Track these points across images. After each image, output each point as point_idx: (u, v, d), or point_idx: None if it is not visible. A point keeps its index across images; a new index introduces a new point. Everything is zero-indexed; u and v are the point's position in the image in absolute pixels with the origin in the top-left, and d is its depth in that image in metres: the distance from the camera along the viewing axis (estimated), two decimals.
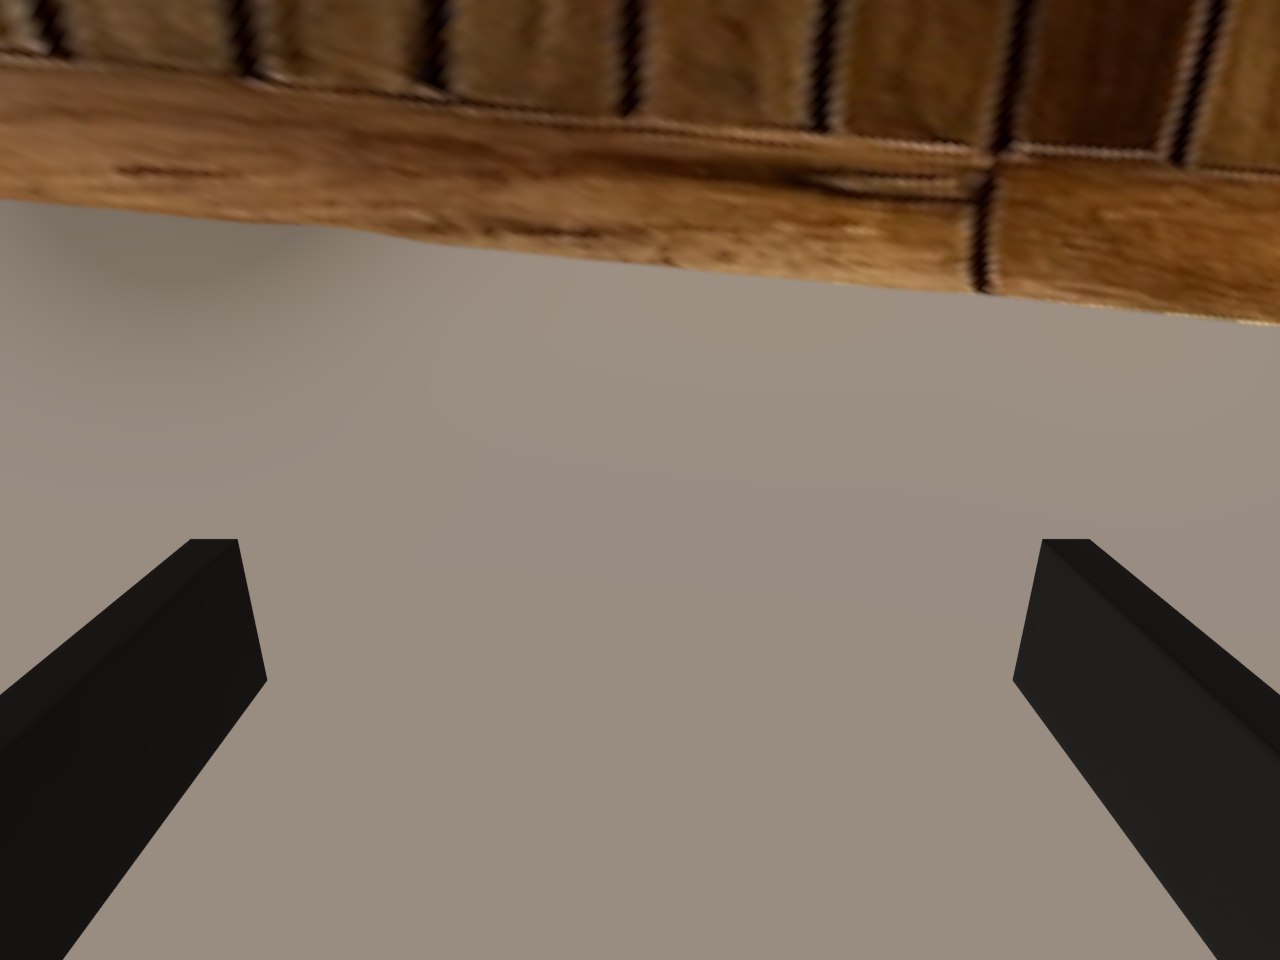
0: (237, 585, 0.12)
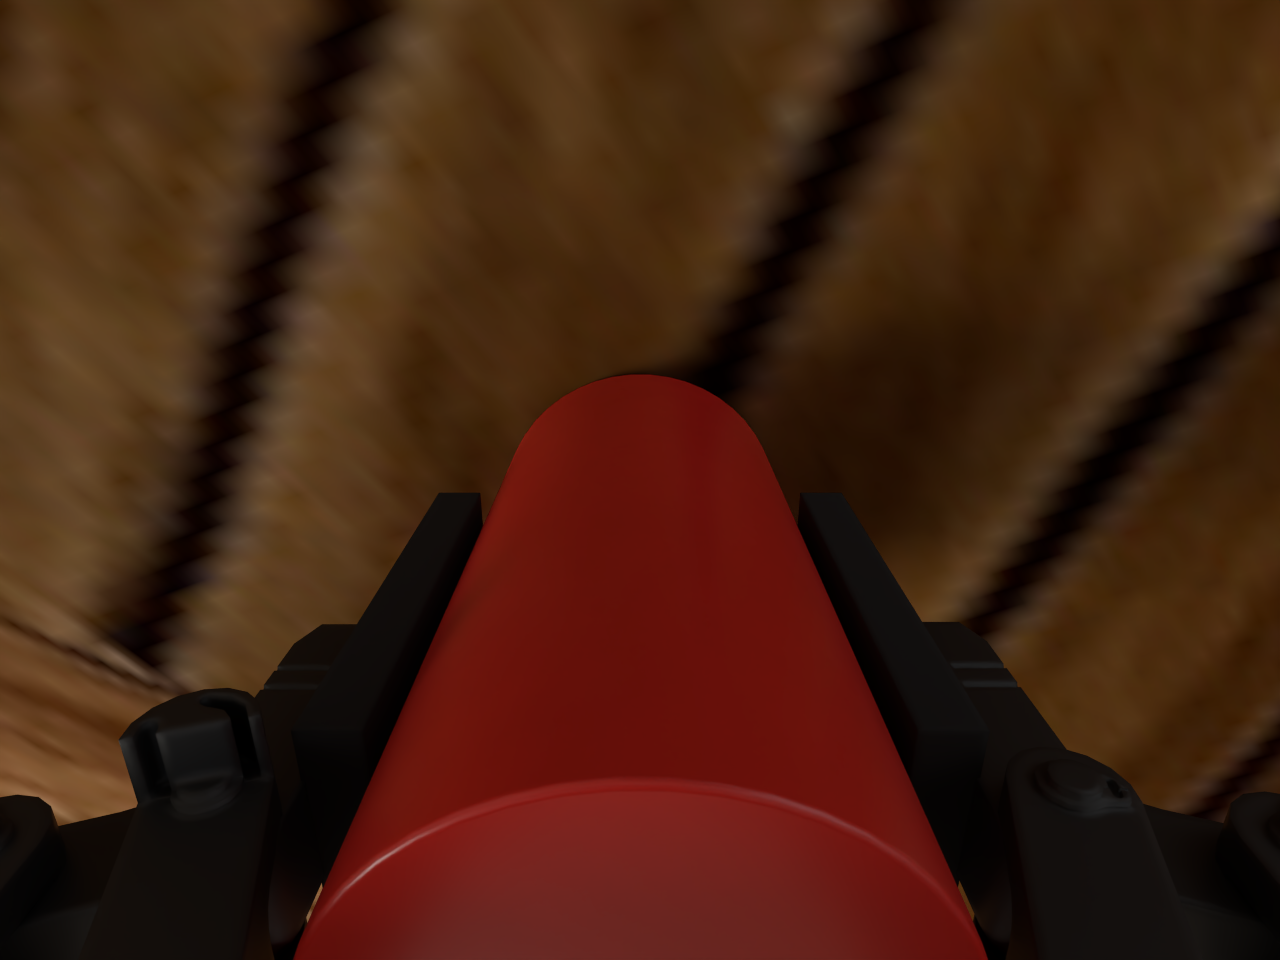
0: None
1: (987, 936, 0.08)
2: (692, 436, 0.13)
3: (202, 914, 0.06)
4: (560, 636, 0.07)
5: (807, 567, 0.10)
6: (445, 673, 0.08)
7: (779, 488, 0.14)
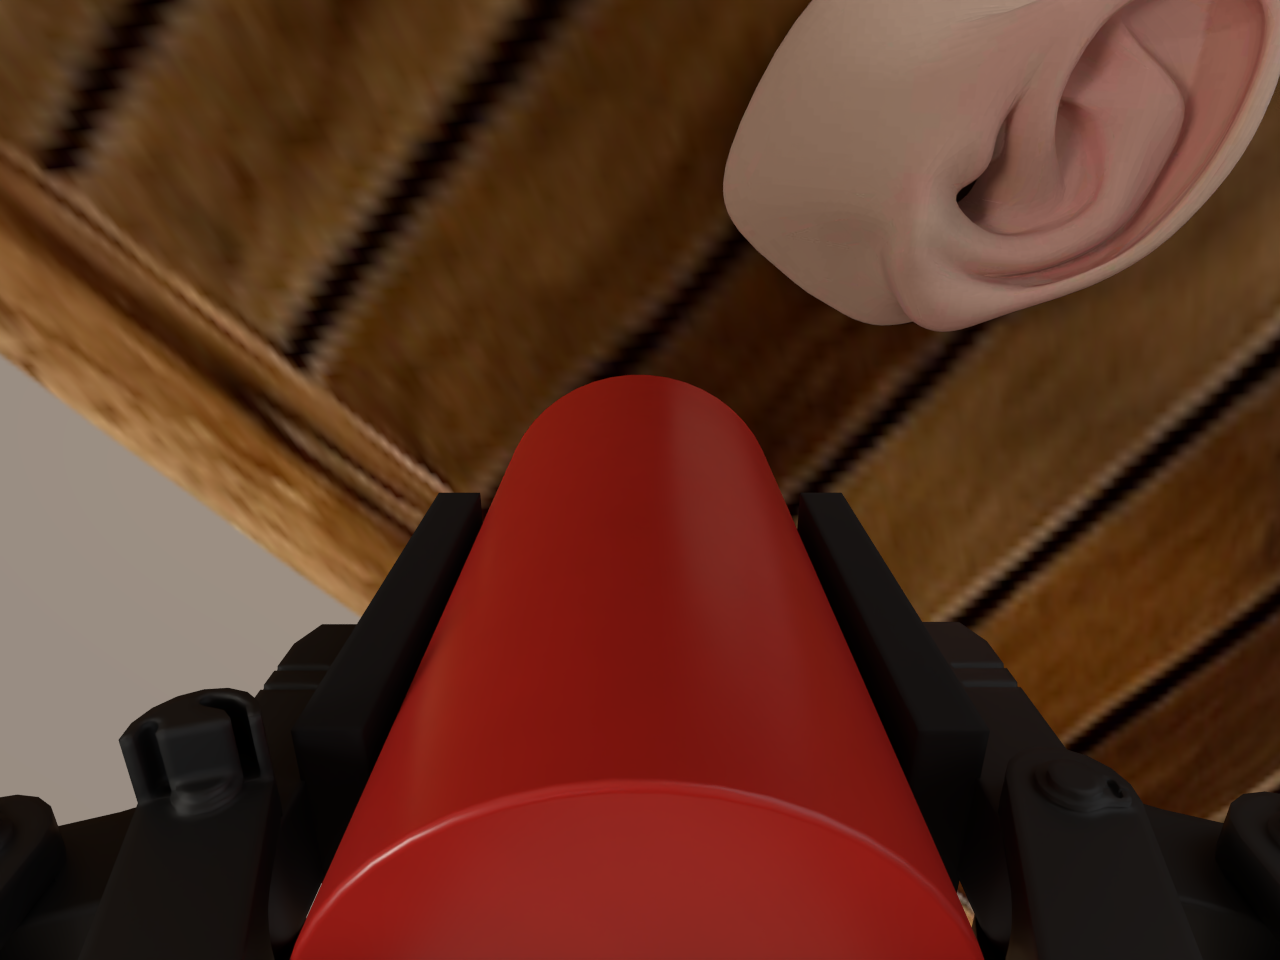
0: None
1: (987, 936, 0.08)
2: (690, 437, 0.13)
3: (202, 914, 0.06)
4: (557, 637, 0.07)
5: (805, 568, 0.10)
6: (441, 675, 0.08)
7: (778, 489, 0.14)
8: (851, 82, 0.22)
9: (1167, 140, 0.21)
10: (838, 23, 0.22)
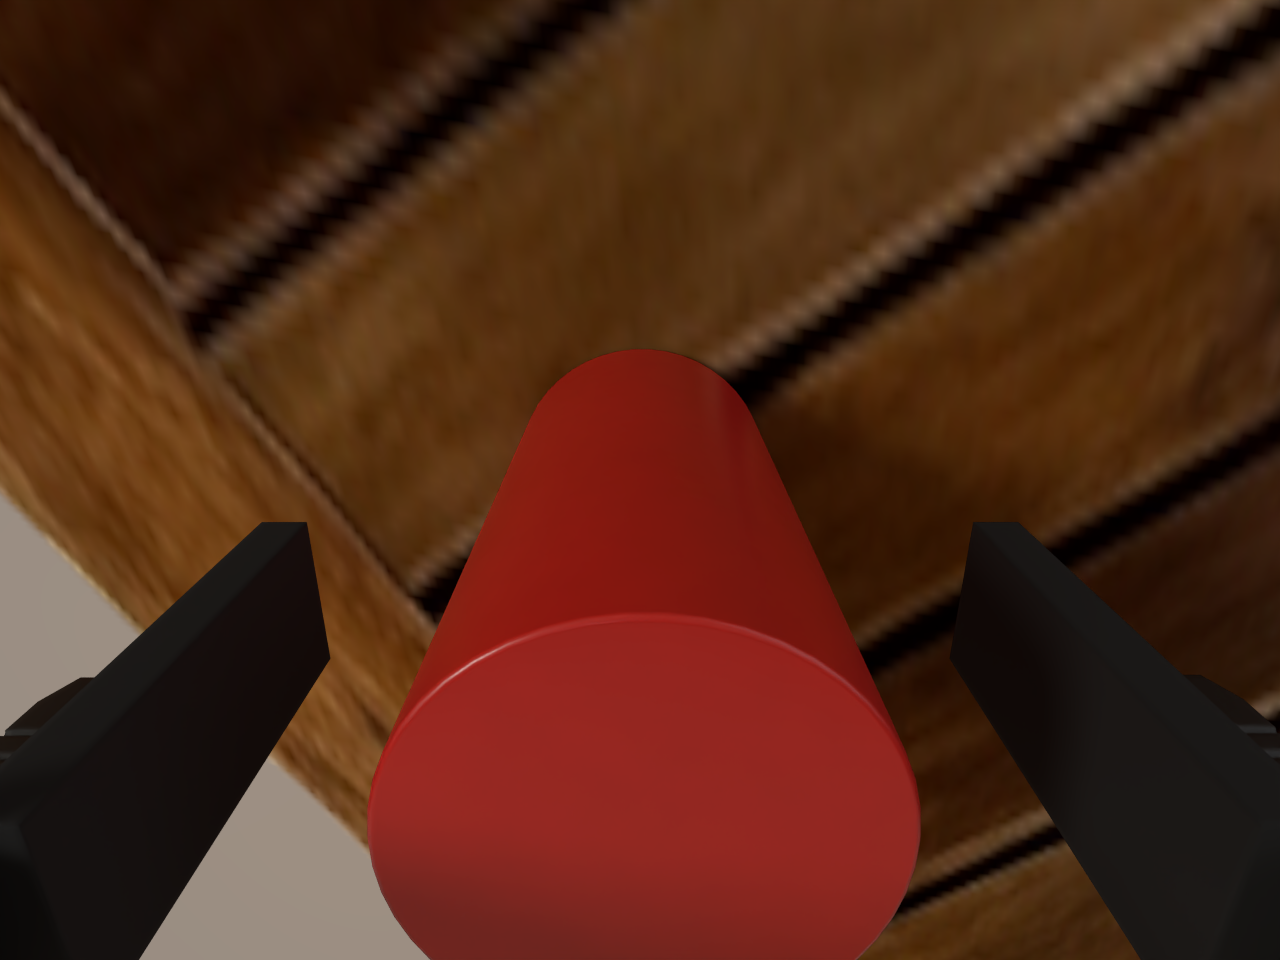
0: (306, 566, 0.13)
1: None
2: (687, 397, 0.14)
3: None
4: (580, 532, 0.09)
5: (784, 501, 0.12)
6: (485, 569, 0.10)
7: (765, 446, 0.16)
8: None
9: None
10: None
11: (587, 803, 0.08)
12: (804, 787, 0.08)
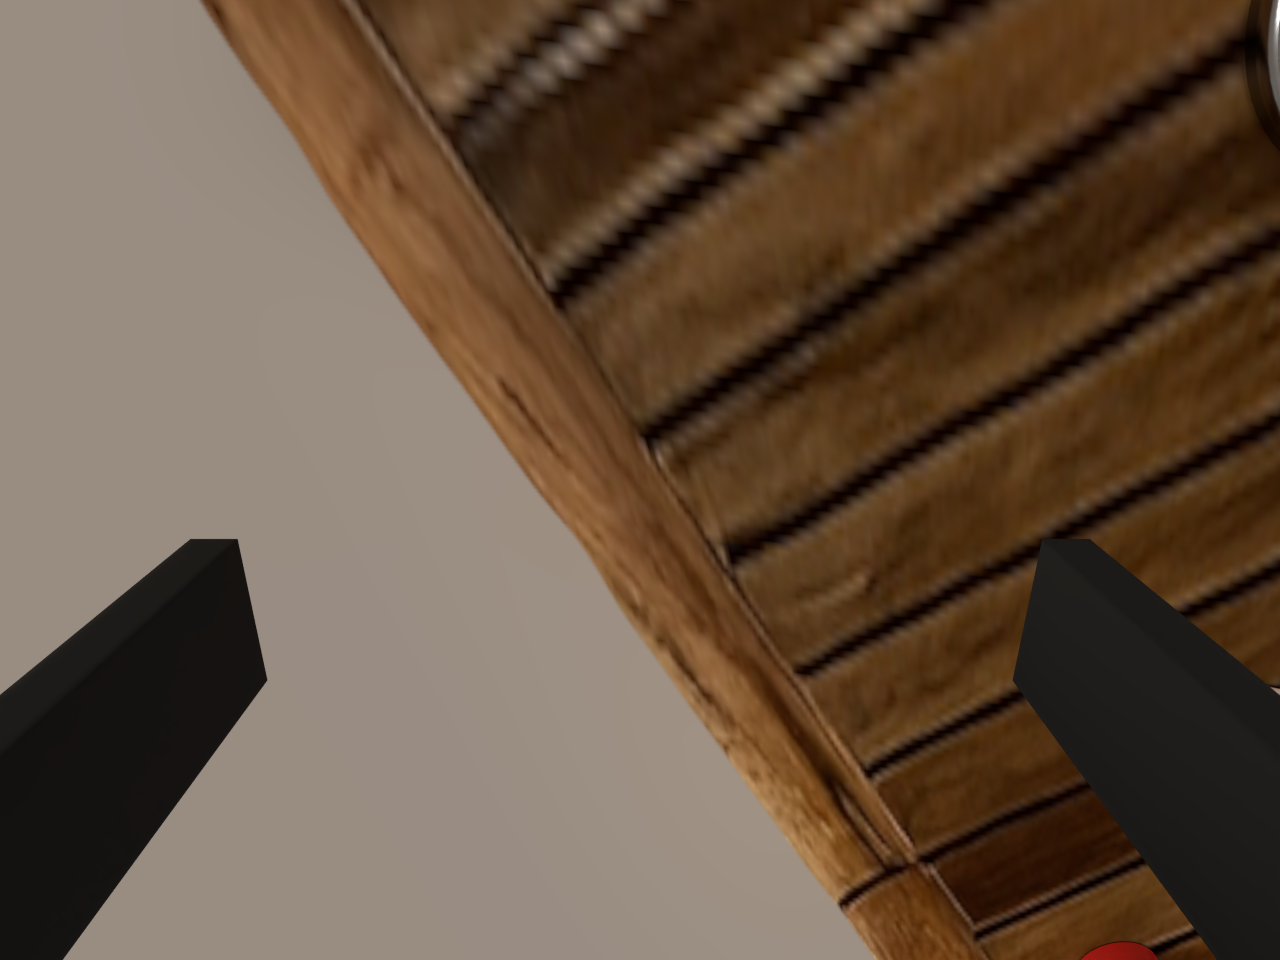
0: (237, 585, 0.12)
1: None
2: None
3: None
4: None
5: None
6: None
7: None
8: None
9: None
10: None
11: None
12: None
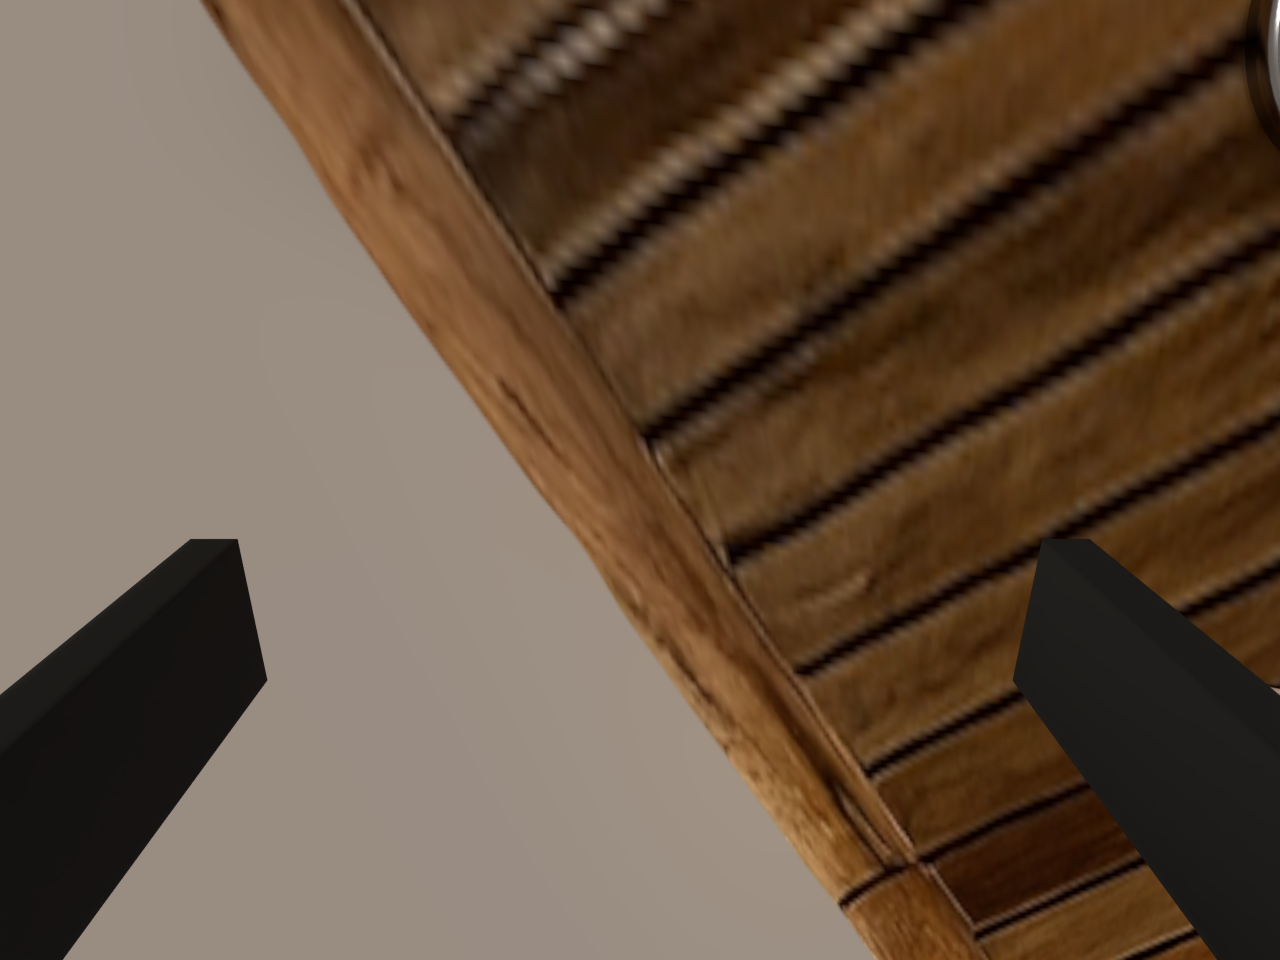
0: (237, 585, 0.12)
1: None
2: None
3: None
4: None
5: None
6: None
7: None
8: None
9: None
10: None
11: None
12: None
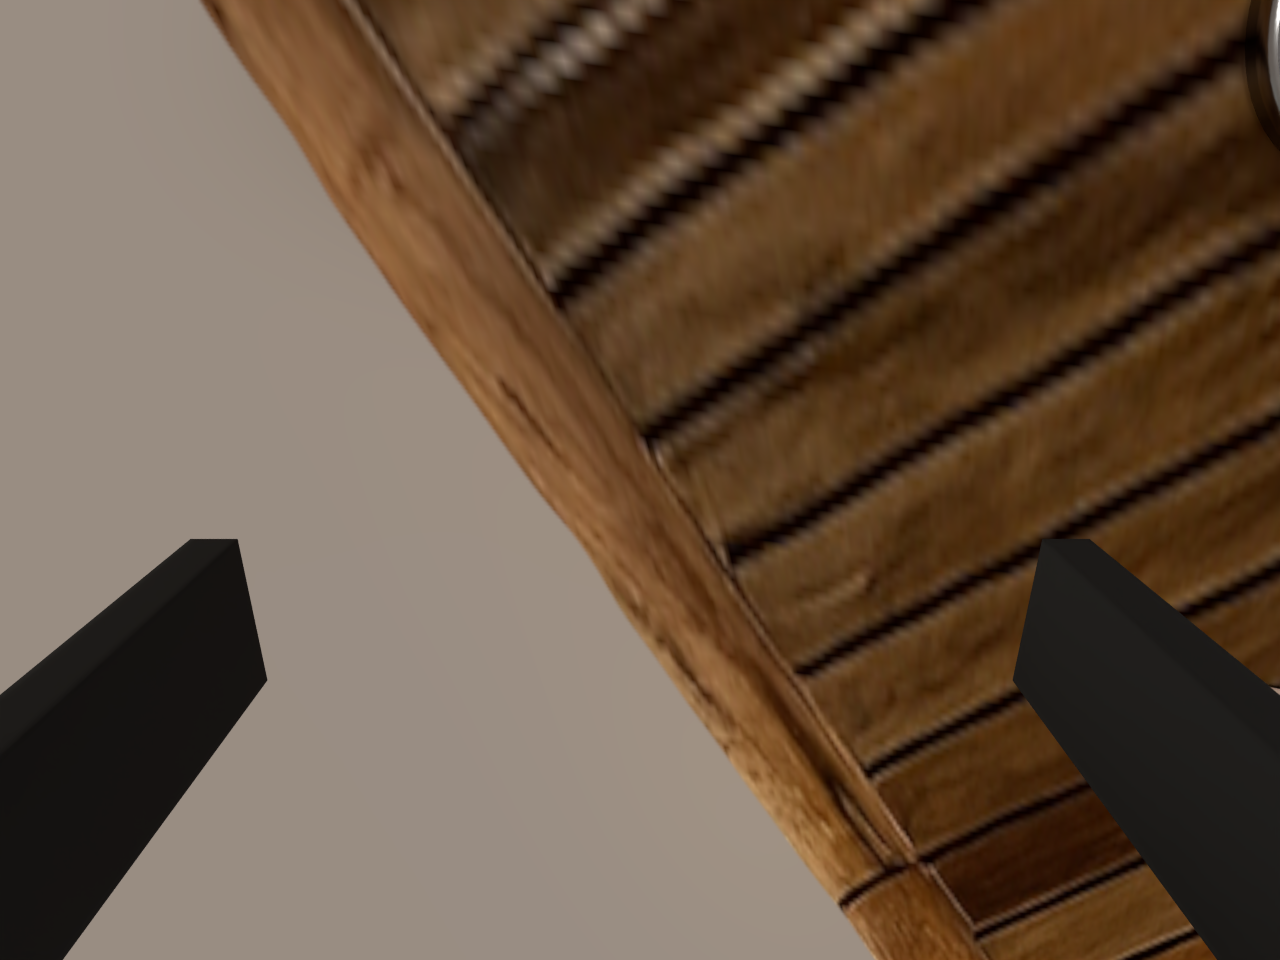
0: (237, 585, 0.12)
1: None
2: None
3: None
4: None
5: None
6: None
7: None
8: None
9: None
10: None
11: None
12: None
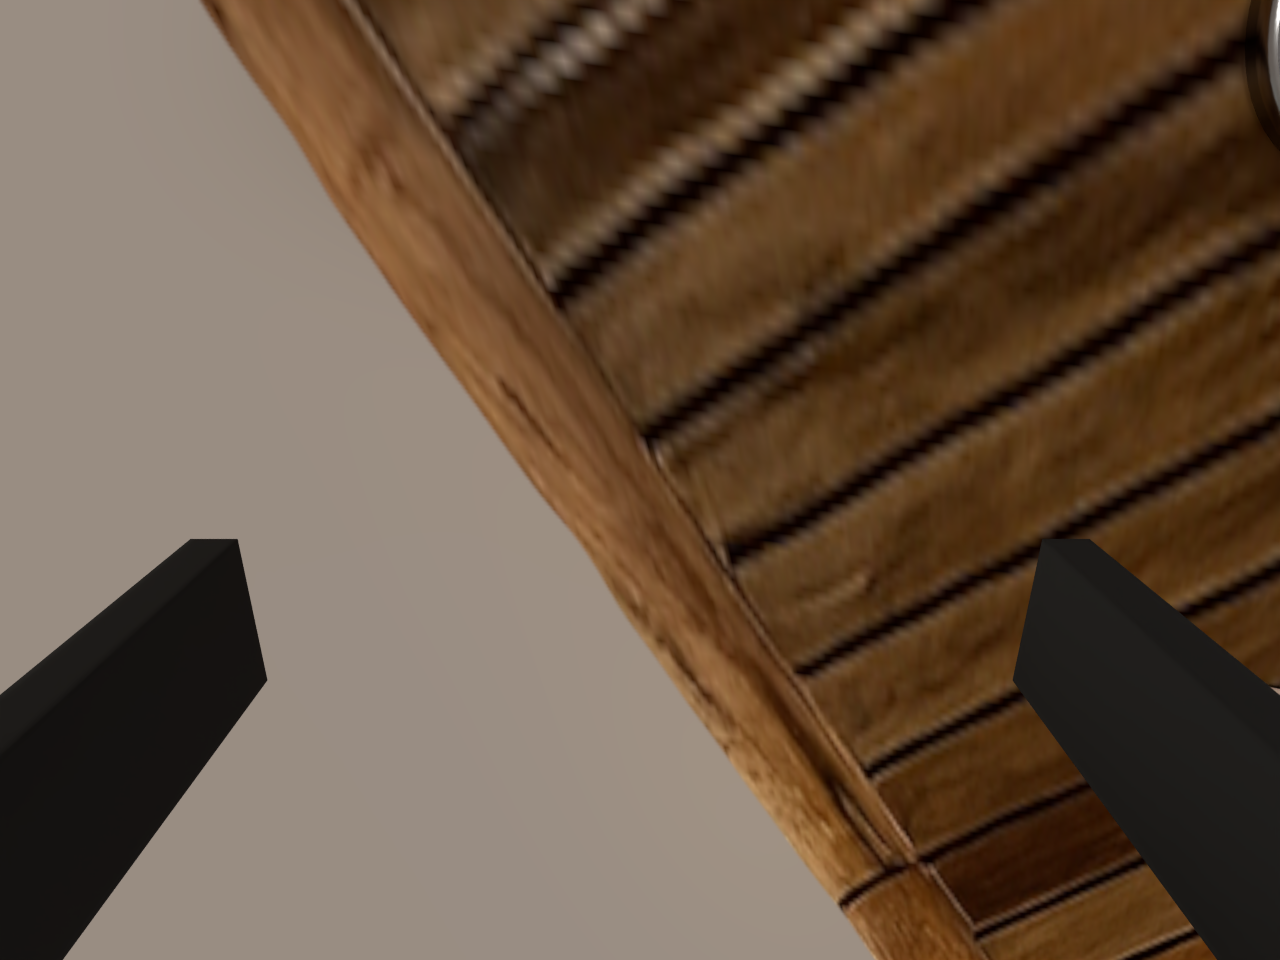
0: (237, 585, 0.12)
1: None
2: None
3: None
4: None
5: None
6: None
7: None
8: None
9: None
10: None
11: None
12: None
